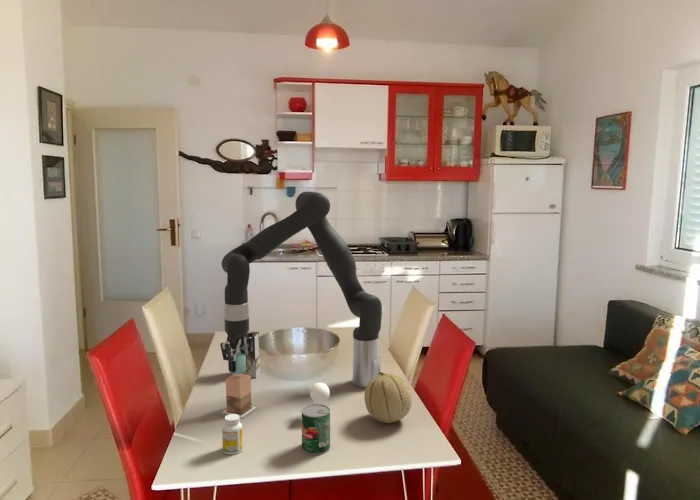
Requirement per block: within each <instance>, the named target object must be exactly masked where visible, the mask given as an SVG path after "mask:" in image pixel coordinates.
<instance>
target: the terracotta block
mask: <svg viewBox="0 0 700 500" xmlns="http://www.w3.org/2000/svg"><path fill="white" fill-rule="evenodd" d="M250 392H251V393H252V378H251V375H246V374H231V375H230V376H228V377H226V378H225V394H226V395H228V396H232V397H237V398H242V397H244V396H245V395H247V394H248V393H250ZM226 395H225V396H226Z"/></svg>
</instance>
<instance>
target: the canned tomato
mask: <svg viewBox="0 0 700 500" xmlns="http://www.w3.org/2000/svg"><path fill="white" fill-rule="evenodd" d="M300 412H301V451H302V452H304V453H305V454H307V455H311V456H313V455H314V456H317V455H318V456H320V455H323V454H325V453H327V452H328V451H330V448H331V409H330V407H329V406H327V405H326V404H325V405H321V404H314V403H313V404H308V405H306V406H303V408H302V409H301V411H300Z"/></svg>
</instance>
